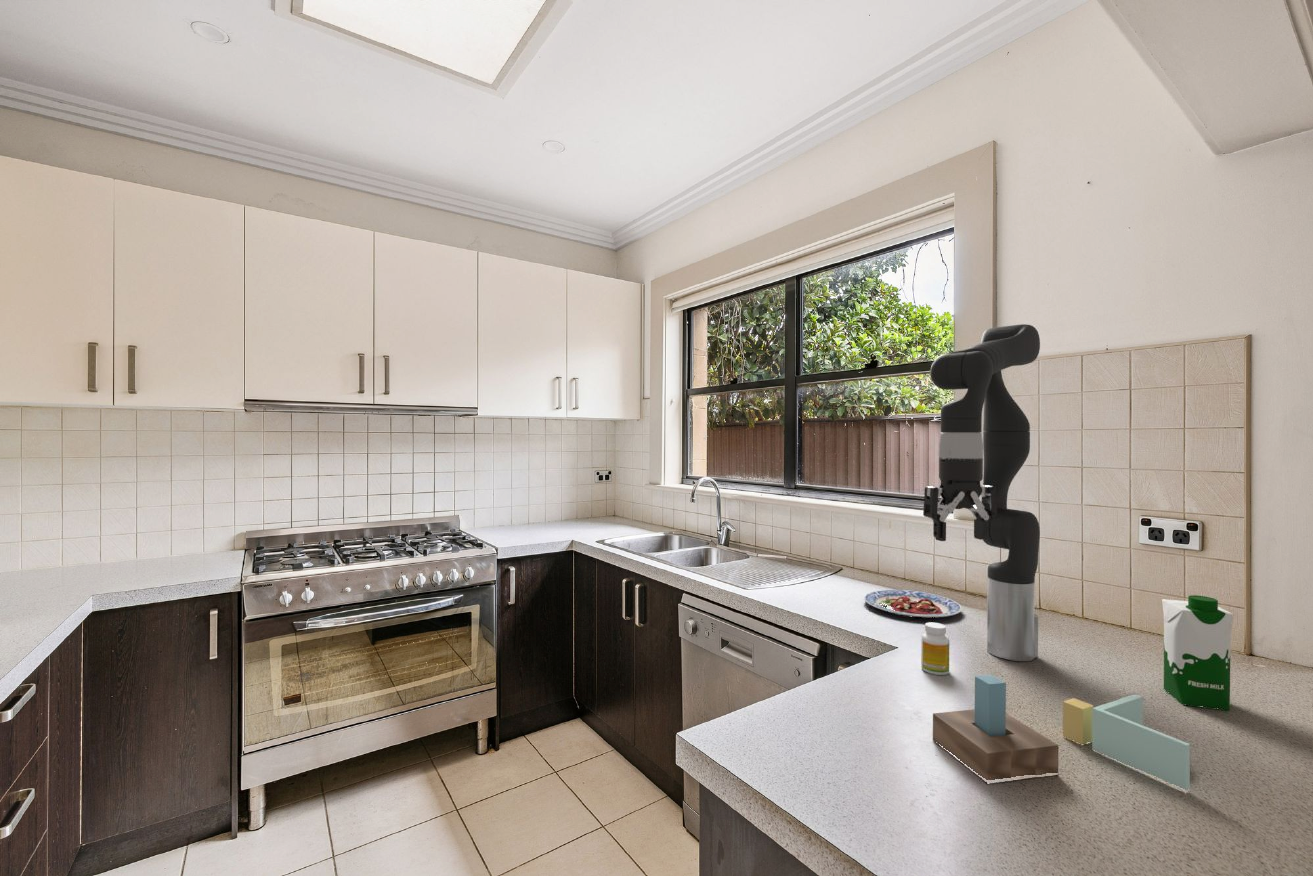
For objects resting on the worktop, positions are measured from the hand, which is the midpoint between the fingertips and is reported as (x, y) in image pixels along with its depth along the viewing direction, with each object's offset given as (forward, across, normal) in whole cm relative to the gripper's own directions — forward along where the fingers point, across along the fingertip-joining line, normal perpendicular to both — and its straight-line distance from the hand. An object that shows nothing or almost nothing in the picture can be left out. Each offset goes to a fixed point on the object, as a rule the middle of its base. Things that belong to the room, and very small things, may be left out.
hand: (960, 539), depth 111 cm
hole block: (+30, +10, +20) cm, 37 cm away
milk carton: (+30, -43, +10) cm, 54 cm away
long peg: (+30, +10, +19) cm, 37 cm away
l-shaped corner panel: (+31, -14, +26) cm, 43 cm away
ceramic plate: (+31, -25, -51) cm, 65 cm away
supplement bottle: (+30, -3, -11) cm, 32 cm away
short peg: (+30, -8, +18) cm, 36 cm away
